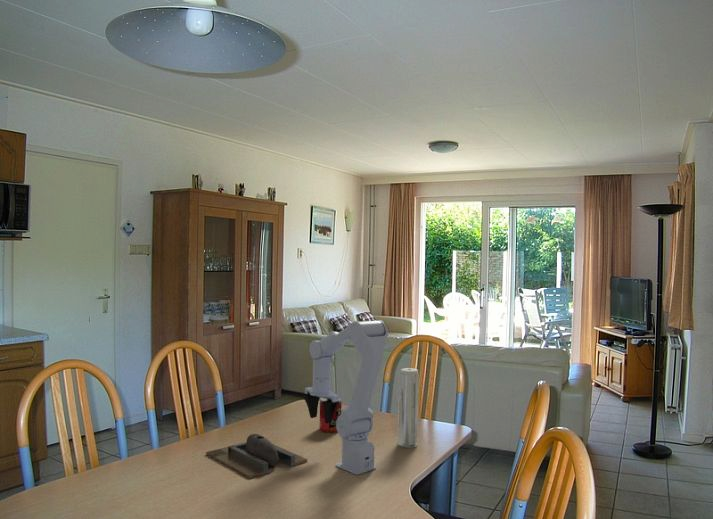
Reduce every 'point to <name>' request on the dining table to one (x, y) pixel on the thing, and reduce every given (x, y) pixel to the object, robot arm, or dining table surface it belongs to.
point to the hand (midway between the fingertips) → (320, 420)
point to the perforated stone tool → (262, 449)
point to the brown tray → (251, 459)
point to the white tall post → (408, 408)
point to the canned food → (332, 426)
